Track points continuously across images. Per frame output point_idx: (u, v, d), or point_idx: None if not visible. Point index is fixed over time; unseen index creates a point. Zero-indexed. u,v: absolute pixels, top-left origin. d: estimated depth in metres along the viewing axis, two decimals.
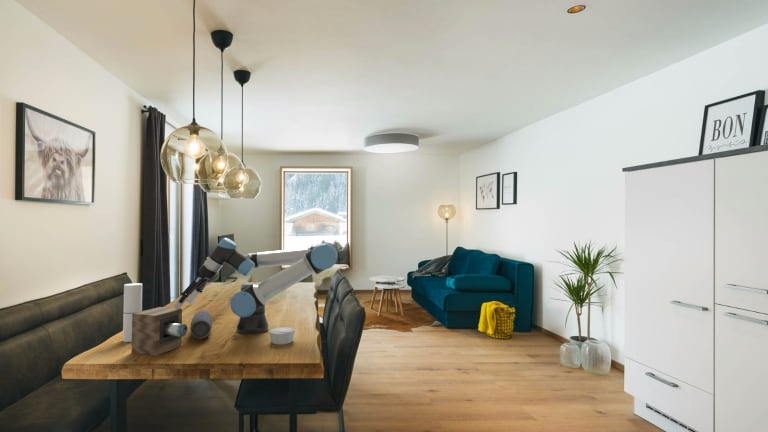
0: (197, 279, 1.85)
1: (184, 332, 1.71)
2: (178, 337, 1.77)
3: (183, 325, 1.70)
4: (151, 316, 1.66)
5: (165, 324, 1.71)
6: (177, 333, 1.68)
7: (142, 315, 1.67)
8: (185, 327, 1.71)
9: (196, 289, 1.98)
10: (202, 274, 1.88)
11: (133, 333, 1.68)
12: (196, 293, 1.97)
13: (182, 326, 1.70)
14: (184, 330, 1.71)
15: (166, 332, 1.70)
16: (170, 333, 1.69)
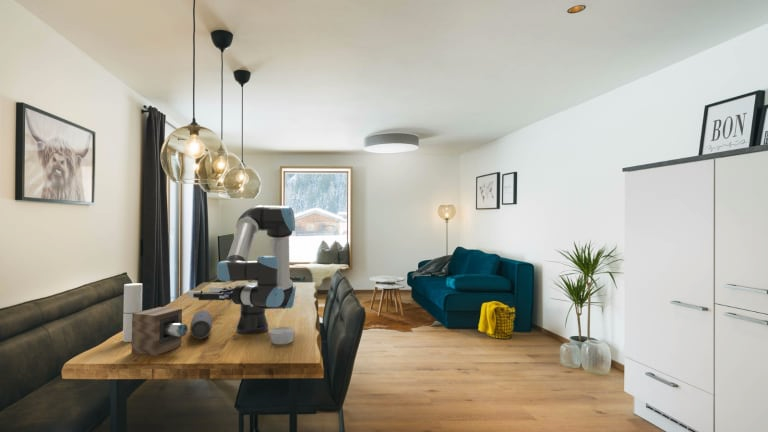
0: None
1: (184, 332, 1.71)
2: (178, 337, 1.77)
3: (183, 325, 1.70)
4: (151, 316, 1.66)
5: (165, 324, 1.71)
6: (177, 333, 1.68)
7: (142, 315, 1.67)
8: (185, 327, 1.71)
9: None
10: None
11: (133, 333, 1.68)
12: None
13: (182, 326, 1.70)
14: (184, 330, 1.71)
15: (166, 332, 1.70)
16: (170, 333, 1.69)
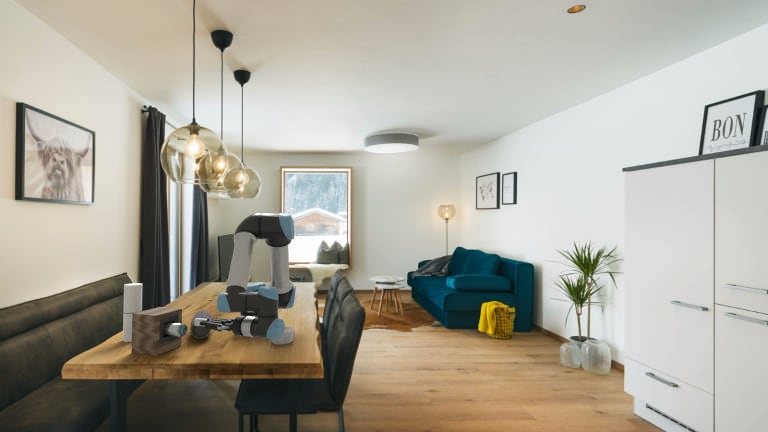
0: None
1: (184, 332, 1.71)
2: (178, 337, 1.77)
3: (183, 325, 1.70)
4: (151, 316, 1.66)
5: (165, 324, 1.71)
6: (177, 333, 1.68)
7: (142, 315, 1.67)
8: (185, 327, 1.71)
9: None
10: None
11: (133, 333, 1.68)
12: None
13: (182, 326, 1.70)
14: (184, 330, 1.71)
15: (166, 332, 1.70)
16: (170, 333, 1.69)
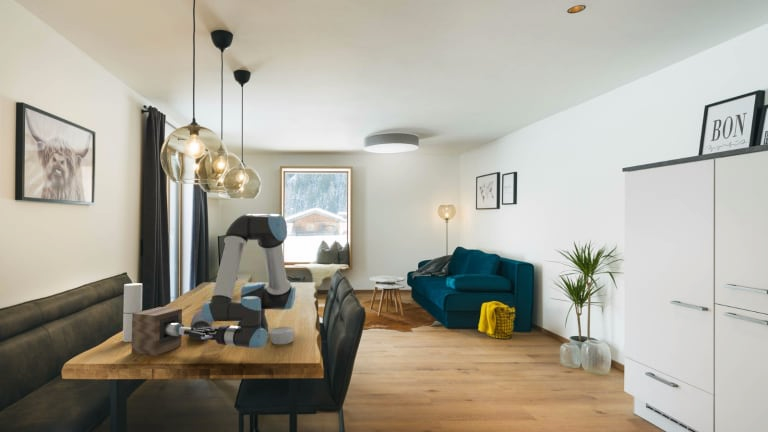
0: None
1: None
2: (178, 337, 1.77)
3: (180, 325, 1.71)
4: (151, 316, 1.66)
5: None
6: (174, 333, 1.68)
7: (142, 315, 1.67)
8: None
9: None
10: None
11: (133, 333, 1.68)
12: None
13: (179, 326, 1.70)
14: None
15: None
16: (167, 333, 1.70)
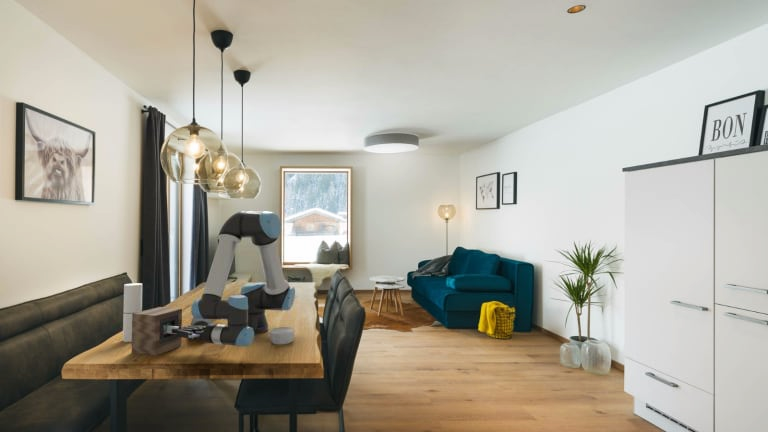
0: None
1: None
2: (178, 337, 1.77)
3: (168, 324, 1.72)
4: (151, 316, 1.66)
5: None
6: None
7: (142, 315, 1.67)
8: None
9: None
10: None
11: (133, 333, 1.68)
12: None
13: (167, 325, 1.72)
14: None
15: None
16: None
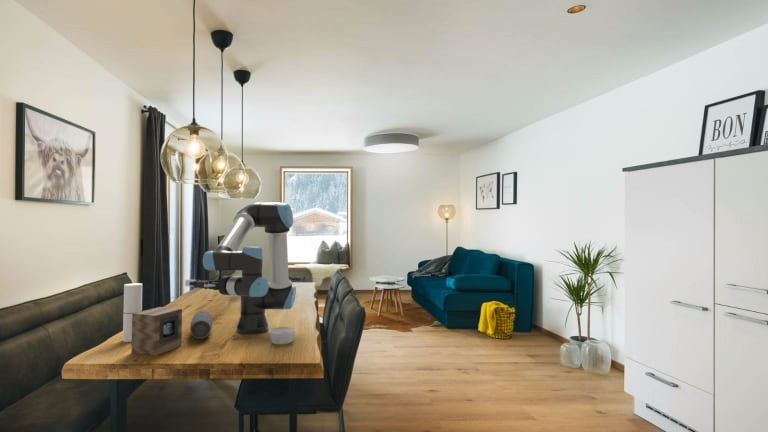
0: None
1: (170, 331, 1.73)
2: (178, 337, 1.77)
3: (169, 324, 1.72)
4: (151, 316, 1.66)
5: None
6: None
7: (142, 315, 1.67)
8: (171, 326, 1.73)
9: None
10: None
11: (133, 333, 1.68)
12: None
13: (168, 325, 1.72)
14: (170, 328, 1.73)
15: None
16: None
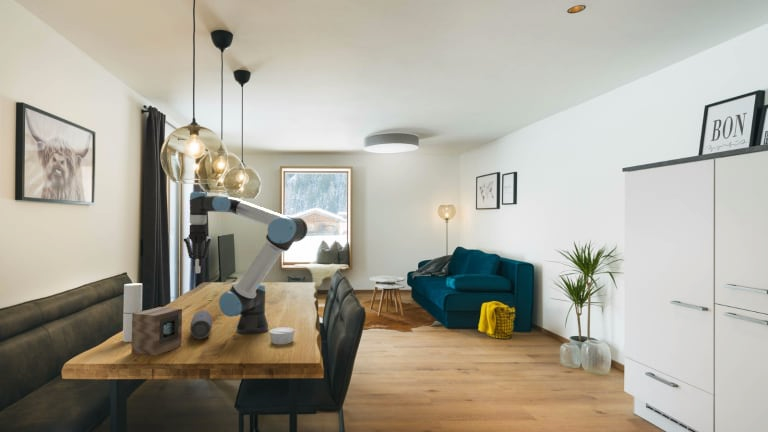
0: None
1: (170, 331, 1.73)
2: (178, 337, 1.77)
3: (169, 324, 1.72)
4: (151, 316, 1.66)
5: None
6: None
7: (142, 315, 1.67)
8: (171, 326, 1.73)
9: None
10: None
11: (133, 333, 1.68)
12: None
13: (168, 325, 1.72)
14: (170, 328, 1.73)
15: None
16: None
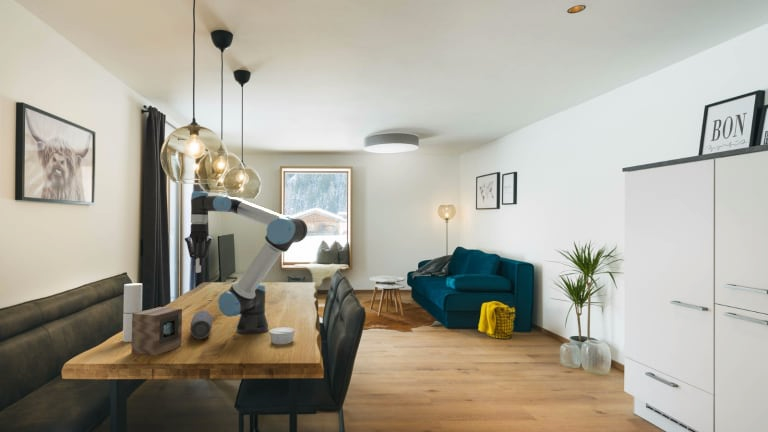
0: None
1: (170, 331, 1.73)
2: (178, 337, 1.77)
3: (169, 324, 1.72)
4: (151, 316, 1.66)
5: None
6: None
7: (142, 315, 1.67)
8: (171, 326, 1.73)
9: None
10: None
11: (133, 333, 1.68)
12: None
13: (168, 325, 1.72)
14: (170, 328, 1.73)
15: None
16: None
